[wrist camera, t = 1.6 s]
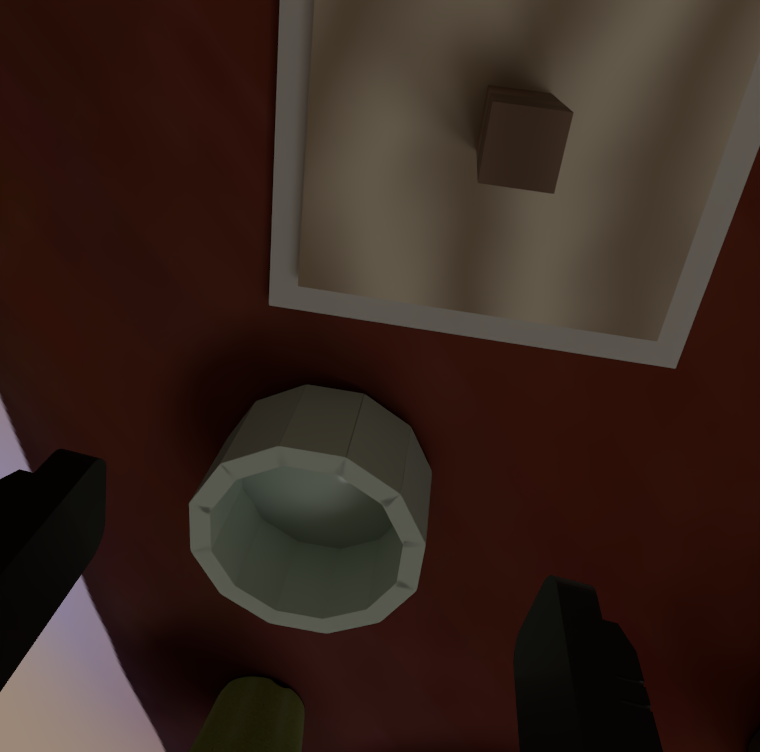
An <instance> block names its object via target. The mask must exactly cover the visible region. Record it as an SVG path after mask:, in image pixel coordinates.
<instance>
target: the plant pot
mask: <svg viewBox="0 0 760 752" xmlns="http://www.w3.org/2000/svg"><path fill="white" fill-rule="evenodd" d="M304 716H305V709H304V705H303V703H302V701H301V699H300V698H299V696H298V695H297V694H296V693H295V692H294V691H293V690H292V689H290V688H283V687H280V686H278V685H277V684H276V683H274V682H273V681H272V680H271V679H269V678H264V677H255V676H251V677H242V678H238V679H235V680H233V681H231V682H229V683H228V684H227V685H226V686H225V688H224V689H223V690H222V691H221V692H220V694H219V696H218V697H217V699H216V701H215V703H214V705H213V707H212V709H211V711H210V713H209V715H208V717H207V719H206V721H205V723H204V724H203V726H202V728H201V730H200V732H199V734H198V736H197V738H196V740H195V742H194V743H193V745H192V747H191V749H190V751H189V752H301V750H302V740H303V730H304Z"/></svg>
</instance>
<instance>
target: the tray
mask: <svg viewBox="0 0 760 752" xmlns="http://www.w3.org/2000/svg"><path fill="white" fill-rule="evenodd" d="M313 15H314V0H280V7H279V35H278V63H277V91H276V119H275V147H274V175H273V203H272V231H271V259H270V287H269V305H271V306H277V307H283V308H290V309H296V310H303V311H309V312H316V313H322V314H328V315H335V316H341V317H348V318H354V319H360V320H367V321H373V322H380V323H386V324H393V325H399V326H405V327H412V328H418V329H425V330H431V331H437V332H444V333H450V334H457V335H463V336H469V337H476V338H482V339H489V340H495V341H502V342H508V343H514V344H521V345H527V346H534V347H540V348H546V349H553V350H559V351H566V352H572V353H579V354H585V355H591V356H598V357H604V358H611V359H617V360H623V361H630V362H636V363H643V364H649V365H655V366H662V367H668V368H675V369H676V366H677V363H678V361H679V358H680V355H681V353H682V350H683V347H684V345H685V342H686V340H687V337H688V334H689V332H690V329H691V326H692V324H693V321H694V318H695V316H696V313H697V310H698V308H699V305H700V302H701V300H702V297H703V294H704V292H705V289H706V286H707V284H708V281H709V278H710V276H711V273H712V271H713V268H714V265H715V263H716V260H717V257H718V255H719V252H720V249H721V247H722V244H723V241H724V239H725V236H726V233H727V231H728V228H729V225H730V223H731V220H732V217H733V215H734V212H735V209H736V207H737V204H738V202H739V199H740V196H741V194H742V191H743V188H744V186H745V183H746V180H747V178H748V175H749V172H750V170H751V167H752V164H753V162H754V159H755V156H756V154H757V151H758V148H759V146H760V52H759V55H758V58H757V60H756V63H755V66H754V69H753V72H752V75H751V77H750V80H749V83H748V86H747V89H746V92H745V94H744V97H743V100H742V103H741V106H740V109H739V111H738V114H737V117H736V120H735V123H734V126H733V128H732V131H731V134H730V137H729V140H728V143H727V145H726V148H725V151H724V154H723V157H722V159H721V162H720V165H719V168H718V171H717V174H716V176H715V179H714V182H713V185H712V188H711V191H710V193H709V196H708V199H707V202H706V205H705V208H704V210H703V213H702V216H701V219H700V222H699V225H698V227H697V230H696V233H695V236H694V239H693V242H692V244H691V247H690V250H689V253H688V256H687V258H686V261H685V264H684V267H683V270H682V273H681V275H680V278H679V281H678V284H677V287H676V290H675V292H674V295H673V298H672V301H671V304H670V307H669V309H668V312H667V315H666V318H665V321H664V324H663V326H662V329H661V332H660V335H659V338H658V341H650V340H644V339H637V338H631V337H624V336H618V335H611V334H605V333H598V332H592V331H585V330H579V329H573V328H566V327H560V326H553V325H547V324H540V323H534V322H527V321H521V320H514V319H508V318H501V317H495V316H488V315H482V314H475V313H469V312H462V311H456V310H449V309H443V308H436V307H430V306H423V305H417V304H410V303H404V302H397V301H391V300H384V299H378V298H371V297H365V296H358V295H352V294H345V293H339V292H332V291H326V290H319V289H313V288H306V287H300V286H298V275H299V257H300V240H301V223H302V205H303V188H304V171H305V153H306V136H307V119H308V102H309V84H310V67H311V50H312V32H313Z"/></svg>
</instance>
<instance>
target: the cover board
mask: <svg viewBox="0 0 760 752" xmlns="http://www.w3.org/2000/svg"><path fill="white" fill-rule="evenodd" d="M759 52H760V0H314V15H313V32H312V50H311V67H310V84H309V102H308V119H307V136H306V153H305V171H304V188H303V205H302V223H301V240H300V257H299V275H298V286H300V287H306V288H313V289H319V290H326V291H332V292H339V293H345V294H352V295H358V296H365V297H371V298H378V299H384V300H391V301H397V302H404V303H410V304H417V305H423V306H430V307H436V308H443V309H449V310H456V311H462V312H469V313H475V314H482V315H488V316H495V317H501V318H508V319H514V320H521V321H527V322H534V323H540V324H547V325H553V326H560V327H566V328H573V329H579V330H585V331H592V332H598V333H605V334H611V335H618V336H624V337H631V338H637V339H644V340H650V341H658V338H659V335H660V332H661V329H662V326H663V324H664V321H665V318H666V315H667V312H668V309H669V307H670V304H671V301H672V298H673V295H674V292H675V290H676V287H677V284H678V281H679V278H680V275H681V273H682V270H683V267H684V264H685V261H686V258H687V256H688V253H689V250H690V247H691V244H692V242H693V239H694V236H695V233H696V230H697V227H698V225H699V222H700V219H701V216H702V213H703V210H704V208H705V205H706V202H707V199H708V196H709V193H710V191H711V188H712V185H713V182H714V179H715V176H716V174H717V171H718V168H719V165H720V162H721V159H722V157H723V154H724V151H725V148H726V145H727V143H728V140H729V137H730V134H731V131H732V128H733V126H734V123H735V120H736V117H737V114H738V111H739V109H740V106H741V103H742V100H743V97H744V94H745V92H746V89H747V86H748V83H749V80H750V77H751V75H752V72H753V69H754V66H755V63H756V60H757V58H758V55H759Z"/></svg>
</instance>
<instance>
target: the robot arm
mask: <svg viewBox="0 0 760 752" xmlns="http://www.w3.org/2000/svg"><path fill="white" fill-rule="evenodd" d="M105 503H106V463H105V461H104V460H103V459H100V458H96V457H93V456H89V455H85V454H81V453H77V452H73V451H69V450H65V449H58V450H56V451H55V452H54V453H53V454H52V455H51V456H50V457H49V458H48V459H47V460H46V461H45V462H44V463H43V464H42V465H41V466H40V467H39V468H38V469H37V470H36V472H35V473H31V472H27V471H23V470H17V471H16V472H13V473H12V474H10V475H8V476H6V477H4V478H2V479H0V692H1V690H2V689H3V687H4V686H5V684H6V683H7V681H8V680H9V678H10V677H11V676H12V674H13V673H14V671H15V670H16V668H17V667H18V665H19V664H20V663H21V661H22V659H23V658H24V657H25V655H26V654H27V652H28V651H29V649H30V648H31V647H32V645H33V644H34V642H35V641H36V639H37V638H38V636H39V635H40V633H41V632H42V631H43V629H44V628H45V626H46V625H47V623H48V622H49V620H50V619H51V617H52V616H53V615H54V613H55V612H56V610H57V609H58V607H59V606H60V605H61V603H62V602H63V600H64V599H65V597H66V596H67V594H68V593H69V592H70V590H71V589H72V587H73V586H74V584H75V583H76V581H77V580H78V578H79V577H80V576H81V574H82V573H83V571H84V570H85V568H86V567H87V565H88V564H89V563H90V561H91V560H92V558H93V556H94V555H95V553H96V551H97V549H98V547H99V544H100V541H101V539H102V535H103V532H104V526H105ZM514 679H515V693H516V706H517V720H518V734H519V748H520V752H663V750H662V746H661V742H660V739H659V735H658V731H657V727H656V724H655V720H654V716H653V712H650V706H651V705H650V701H649V697H648V694H647V690H646V687H644V686H643V683H644V679H643V675H642V671H641V668H640V664H639V660H638V656H637V653H636V651H635V649H634V648H633V646H632V645H631V643H630V641H629V640H628V638H627V637H626V635H625V634H624V632H623V631H622V629H621V628H620V626H619V625H618V624H617V623H614V622H610V621H606V620H602V615H601V611H600V606H599V602H598V597H597V594H596V591H595V588H594V587H593V586H591V585H588V584H584V583H580V582H576V581H572V580H568V579H565V578H561V577H557V576H553V575H550V576H548V577H547V578H546V579H545V581H544V583H543V585H542V587H541V589H540V591H539V593H538V595H537V597H536V599H535V601H534V603H533V605H532V607H531V609H530V611H529V613H528V615H527V617H526V619H525V621H524V623H523V625H522V627H521V629H520V631H519V634H518V637H517V641H516V645H515V652H514ZM748 752H760V729H759V730H758V732H757V733H756V734H755V735H754V736H753V737H752V739H751V742H750V744H749V746H748Z"/></svg>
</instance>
